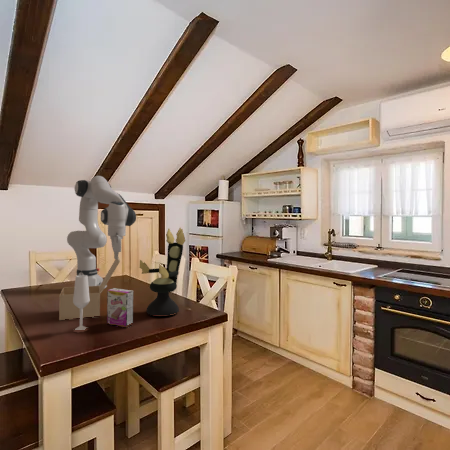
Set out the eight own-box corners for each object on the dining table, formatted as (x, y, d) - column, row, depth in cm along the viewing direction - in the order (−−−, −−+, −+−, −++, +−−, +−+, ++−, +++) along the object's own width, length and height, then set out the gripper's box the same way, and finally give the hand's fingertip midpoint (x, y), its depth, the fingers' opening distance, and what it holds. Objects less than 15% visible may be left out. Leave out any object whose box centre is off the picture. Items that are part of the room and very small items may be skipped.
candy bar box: (106, 325, 147) (106, 290, 147) (113, 321, 152) (113, 287, 152) (126, 328, 144) (127, 292, 143) (133, 325, 149) (133, 290, 148)
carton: (59, 320, 152) (59, 295, 151) (62, 310, 167) (62, 287, 166) (99, 316, 159) (100, 292, 158) (99, 307, 173) (100, 285, 173)
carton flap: (119, 260, 161) (120, 261, 161) (117, 256, 176) (118, 256, 176) (100, 292, 158) (101, 293, 158) (100, 285, 173) (101, 285, 173)
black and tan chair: (137, 312, 167) (138, 226, 165) (170, 304, 184) (172, 226, 182) (159, 321, 155) (161, 228, 153) (192, 311, 171) (195, 227, 170)
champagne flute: (86, 333, 137) (86, 277, 136) (70, 333, 137) (70, 277, 136) (91, 327, 144) (92, 274, 143) (76, 327, 144) (76, 274, 143)
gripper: (124, 233, 159) (123, 261, 159) (121, 231, 178) (121, 256, 178) (110, 233, 156) (110, 261, 157) (109, 231, 175) (109, 256, 176)
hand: (116, 258), depth 168 cm, fingers closed
